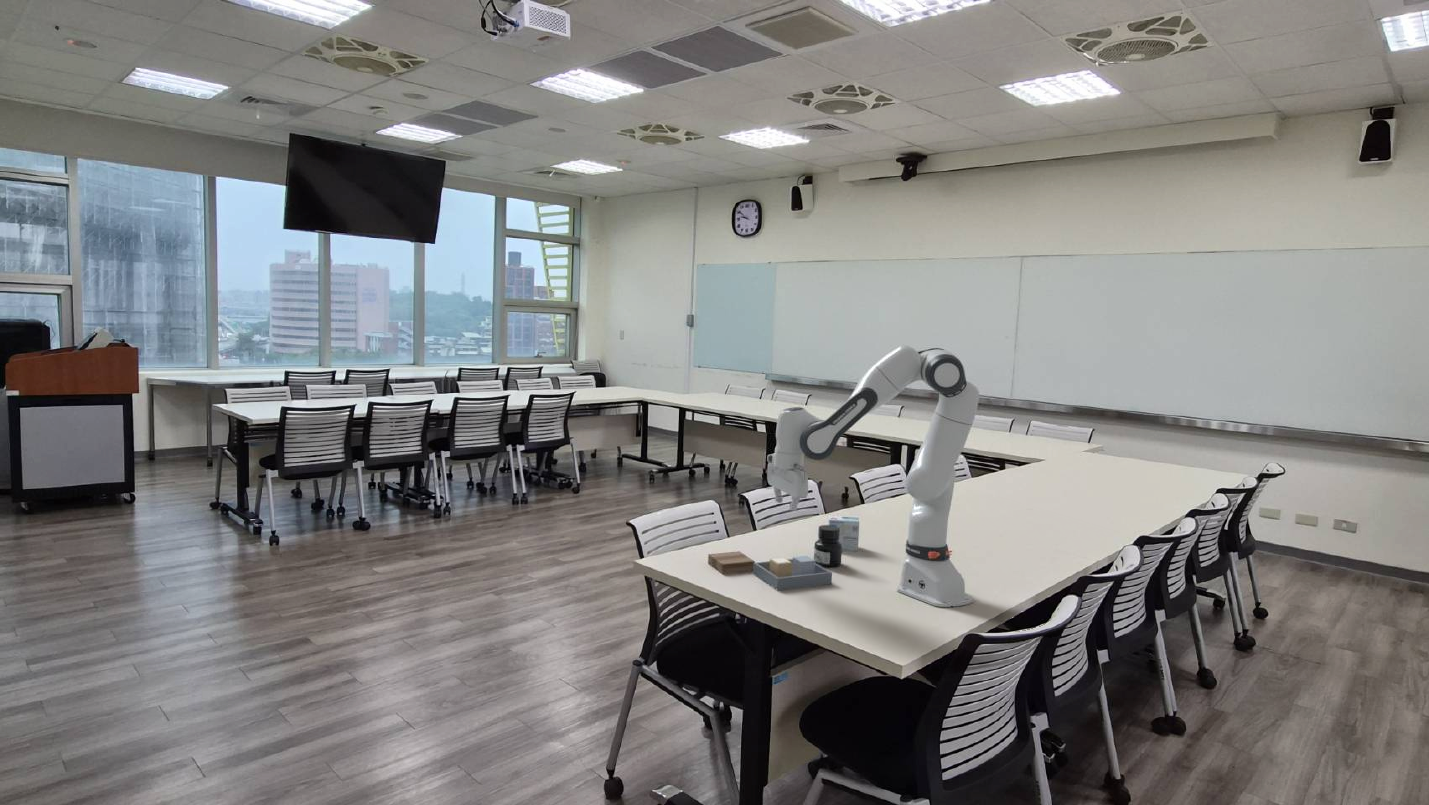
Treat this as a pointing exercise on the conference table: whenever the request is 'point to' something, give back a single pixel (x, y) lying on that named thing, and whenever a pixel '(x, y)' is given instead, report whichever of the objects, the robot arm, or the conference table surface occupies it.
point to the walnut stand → (730, 562)
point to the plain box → (803, 566)
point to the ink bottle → (828, 546)
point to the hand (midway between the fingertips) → (785, 506)
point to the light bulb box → (847, 531)
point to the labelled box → (780, 567)
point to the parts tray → (792, 577)
